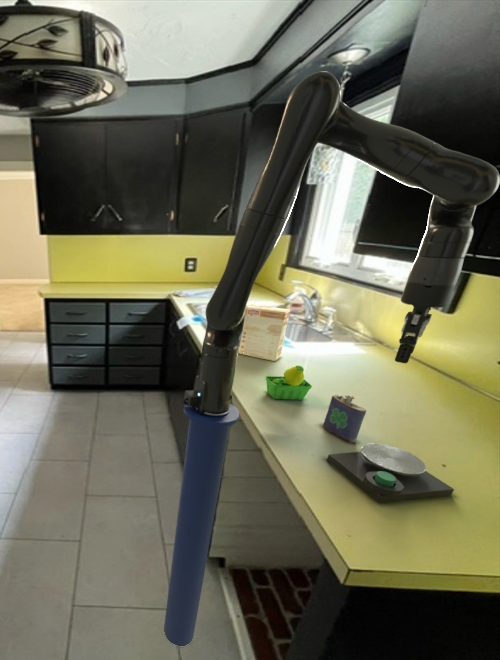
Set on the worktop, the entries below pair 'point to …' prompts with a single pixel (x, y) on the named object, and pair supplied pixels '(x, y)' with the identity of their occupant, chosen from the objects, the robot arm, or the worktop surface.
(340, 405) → the flask
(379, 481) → the tare button
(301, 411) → the worktop surface
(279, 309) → the coffeecake box
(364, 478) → the scale
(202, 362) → the robot arm
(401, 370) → the worktop surface
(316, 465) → the worktop surface
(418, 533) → the worktop surface
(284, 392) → the fruit basket
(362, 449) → the scale pan
